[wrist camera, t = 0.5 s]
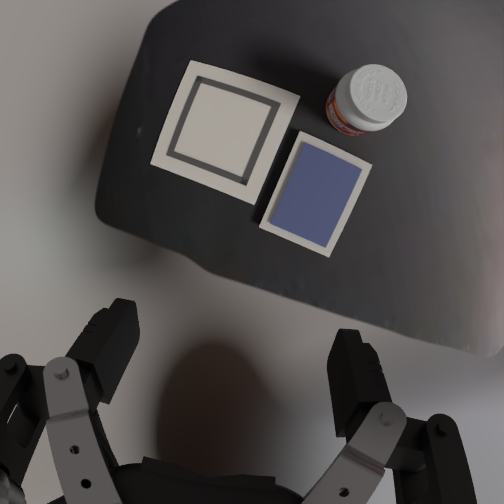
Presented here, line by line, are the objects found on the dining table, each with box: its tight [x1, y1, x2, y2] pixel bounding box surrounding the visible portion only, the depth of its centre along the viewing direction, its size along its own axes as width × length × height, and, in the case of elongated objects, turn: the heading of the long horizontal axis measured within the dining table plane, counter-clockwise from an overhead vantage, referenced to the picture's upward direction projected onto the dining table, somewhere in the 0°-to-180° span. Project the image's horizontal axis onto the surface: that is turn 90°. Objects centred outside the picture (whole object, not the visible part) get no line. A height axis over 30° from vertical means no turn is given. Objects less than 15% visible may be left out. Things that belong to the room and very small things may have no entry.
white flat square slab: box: [150, 60, 300, 205], centre depth 33 cm, size 14×14×1 cm
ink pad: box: [259, 131, 372, 257], centre depth 34 cm, size 12×9×2 cm
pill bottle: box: [326, 64, 407, 136], centre depth 26 cm, size 6×6×11 cm
